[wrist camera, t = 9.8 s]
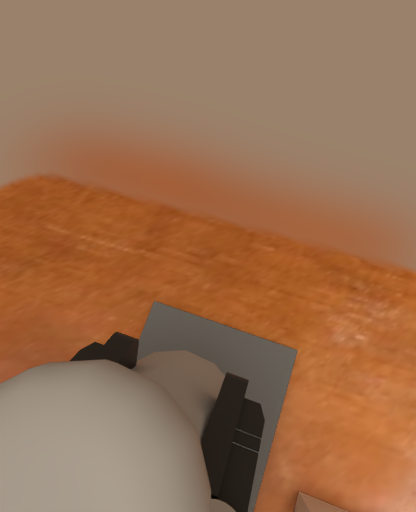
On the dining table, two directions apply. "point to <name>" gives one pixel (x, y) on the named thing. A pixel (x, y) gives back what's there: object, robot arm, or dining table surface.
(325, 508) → the collar
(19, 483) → the salt shaker
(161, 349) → the mat
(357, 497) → the dining table surface
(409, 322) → the dining table surface
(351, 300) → the dining table surface
